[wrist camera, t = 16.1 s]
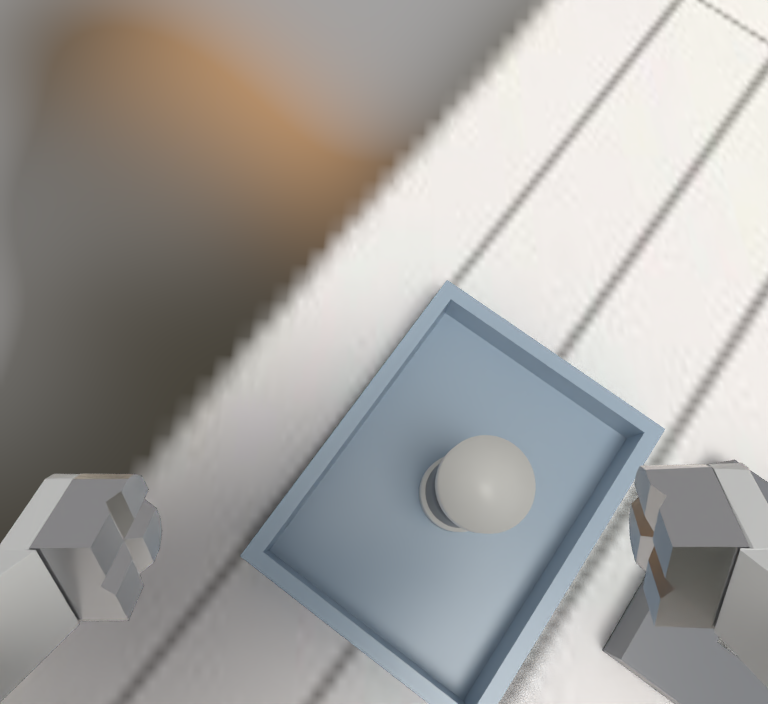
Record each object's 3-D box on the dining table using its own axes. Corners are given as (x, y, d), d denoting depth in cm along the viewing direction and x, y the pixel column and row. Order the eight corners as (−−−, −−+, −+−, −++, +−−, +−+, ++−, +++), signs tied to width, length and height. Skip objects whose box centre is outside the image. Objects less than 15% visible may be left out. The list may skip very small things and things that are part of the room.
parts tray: (465, 722, 34) (475, 740, 31) (249, 553, 35) (239, 556, 32) (641, 436, 38) (665, 429, 35) (440, 298, 39) (447, 279, 36)
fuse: (464, 547, 35) (500, 554, 27) (404, 501, 36) (420, 494, 27) (506, 485, 36) (554, 473, 27) (446, 442, 37) (474, 416, 28)
